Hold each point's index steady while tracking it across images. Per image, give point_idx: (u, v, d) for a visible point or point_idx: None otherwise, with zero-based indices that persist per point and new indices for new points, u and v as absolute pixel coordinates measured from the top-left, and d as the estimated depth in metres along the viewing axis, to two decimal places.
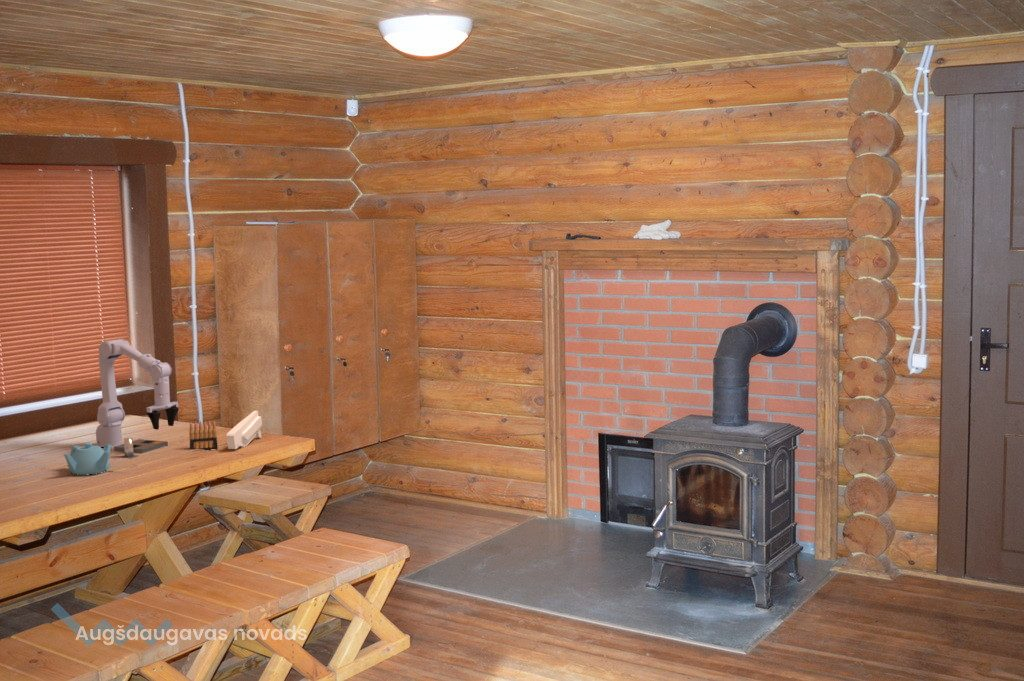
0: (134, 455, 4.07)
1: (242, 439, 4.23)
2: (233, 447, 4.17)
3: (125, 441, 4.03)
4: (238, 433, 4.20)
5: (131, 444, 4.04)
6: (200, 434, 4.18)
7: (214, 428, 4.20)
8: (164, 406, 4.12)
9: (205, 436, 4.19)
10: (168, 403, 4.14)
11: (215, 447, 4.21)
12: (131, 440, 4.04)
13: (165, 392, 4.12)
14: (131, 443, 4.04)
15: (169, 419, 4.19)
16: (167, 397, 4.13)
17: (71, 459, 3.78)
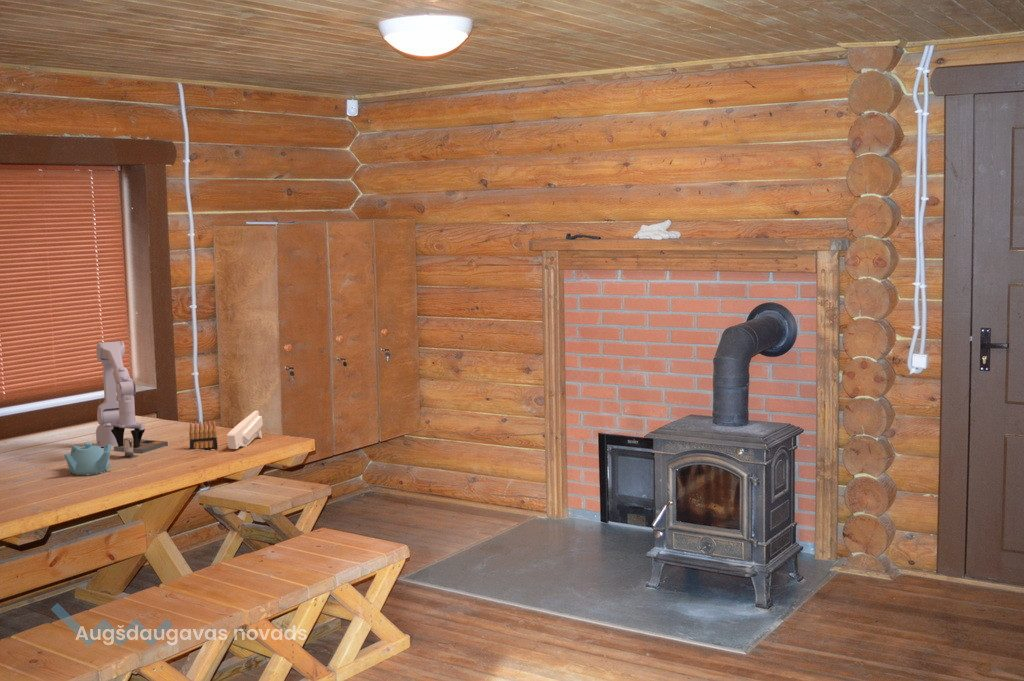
0: (134, 455, 4.07)
1: (243, 439, 4.24)
2: (234, 447, 4.18)
3: (125, 441, 4.03)
4: (239, 433, 4.20)
5: (131, 444, 4.04)
6: (200, 434, 4.18)
7: (214, 428, 4.20)
8: None
9: (205, 436, 4.19)
10: (123, 423, 4.01)
11: (215, 447, 4.21)
12: (131, 440, 4.04)
13: (126, 411, 4.01)
14: (131, 443, 4.04)
15: None
16: (122, 416, 4.01)
17: (71, 459, 3.78)
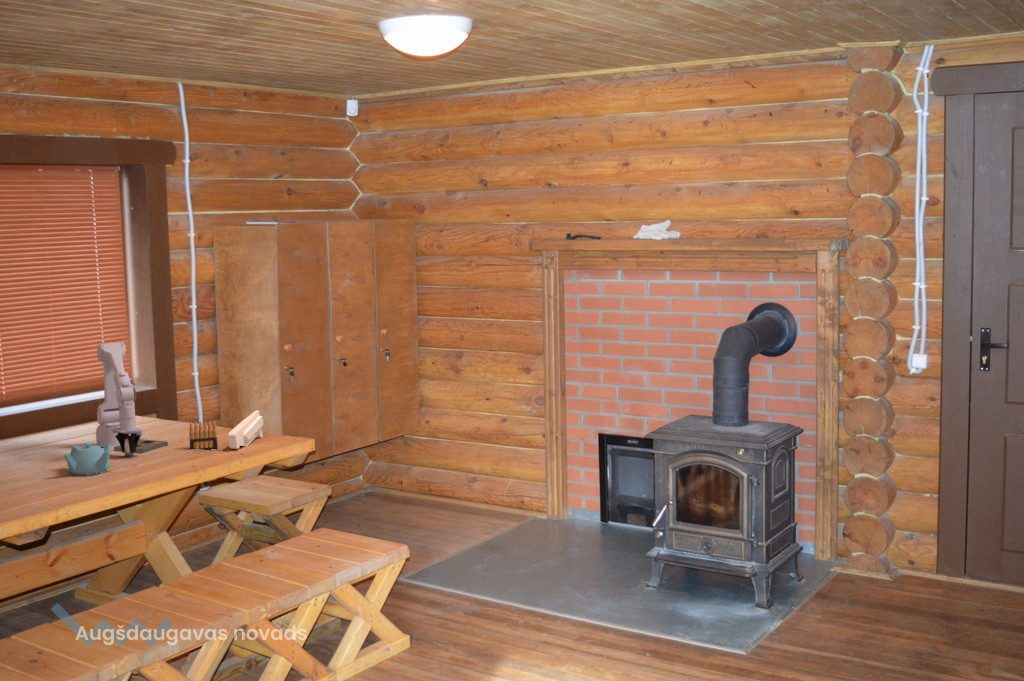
0: (134, 455, 4.07)
1: (244, 439, 4.24)
2: (235, 447, 4.18)
3: (125, 441, 4.03)
4: (240, 432, 4.21)
5: None
6: (200, 434, 4.18)
7: (214, 428, 4.20)
8: (120, 430, 4.02)
9: (205, 436, 4.19)
10: (123, 428, 4.01)
11: (215, 447, 4.21)
12: None
13: (126, 417, 4.01)
14: None
15: None
16: (122, 422, 4.01)
17: (71, 459, 3.78)
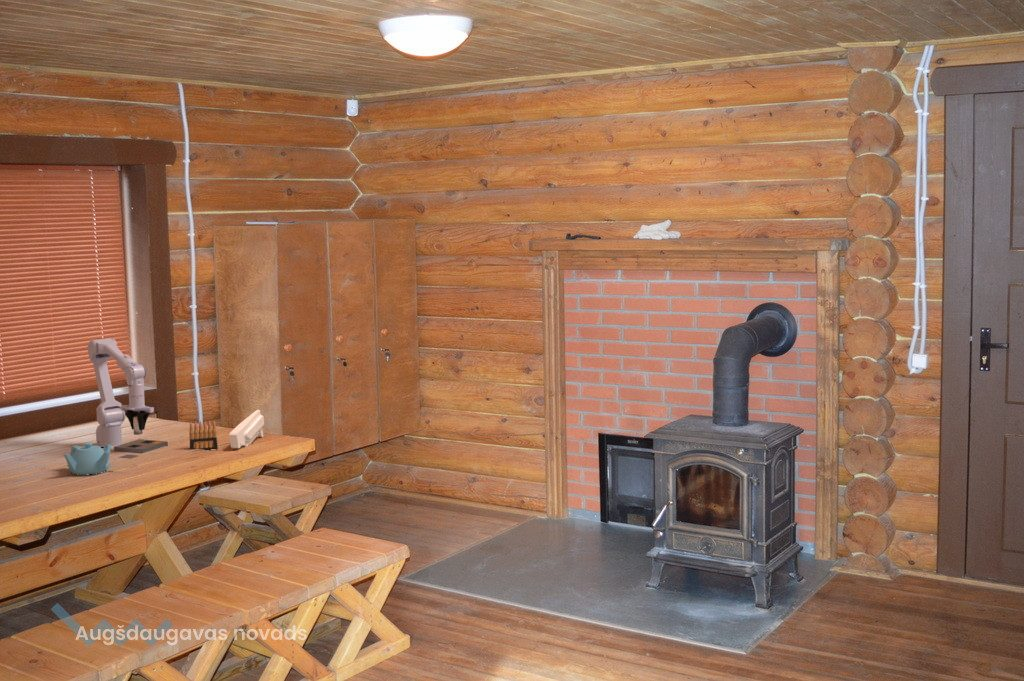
0: (134, 455, 4.07)
1: (245, 438, 4.25)
2: (236, 446, 4.19)
3: (134, 419, 4.12)
4: (241, 432, 4.22)
5: None
6: (200, 434, 4.18)
7: (214, 428, 4.20)
8: None
9: (205, 436, 4.19)
10: (133, 406, 4.11)
11: (215, 447, 4.21)
12: None
13: (138, 394, 4.10)
14: None
15: None
16: (132, 400, 4.10)
17: (71, 459, 3.78)
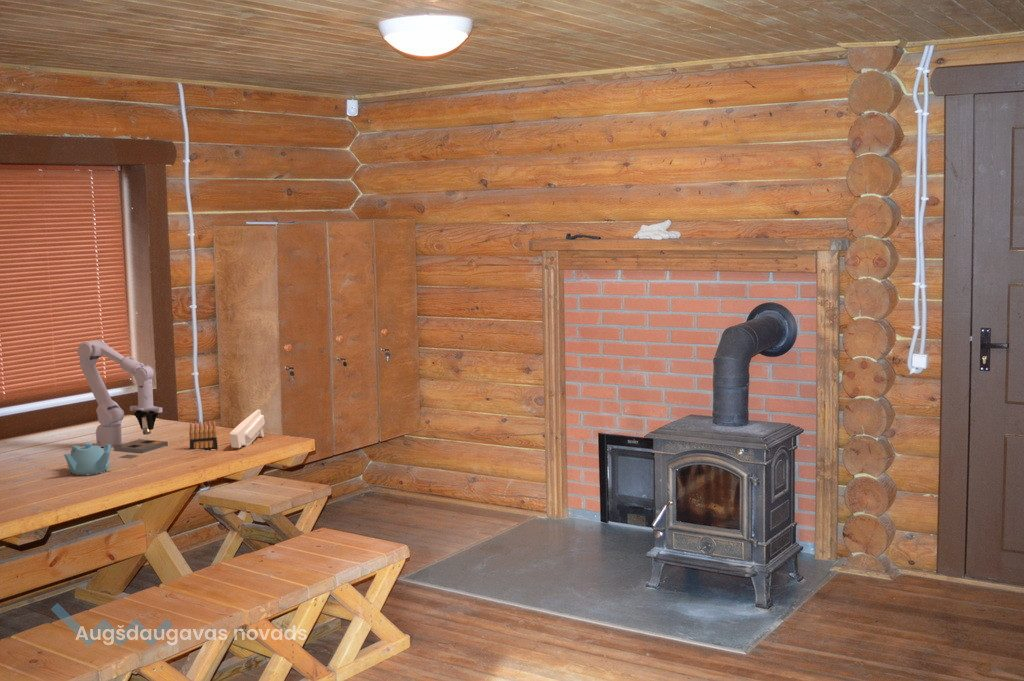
0: (134, 455, 4.07)
1: (245, 438, 4.25)
2: (237, 446, 4.20)
3: (143, 419, 4.21)
4: (242, 431, 4.22)
5: None
6: (200, 434, 4.18)
7: (214, 428, 4.20)
8: (138, 408, 4.21)
9: (205, 436, 4.19)
10: (142, 406, 4.20)
11: (215, 447, 4.21)
12: None
13: (149, 394, 4.20)
14: None
15: None
16: (141, 400, 4.19)
17: (71, 459, 3.78)
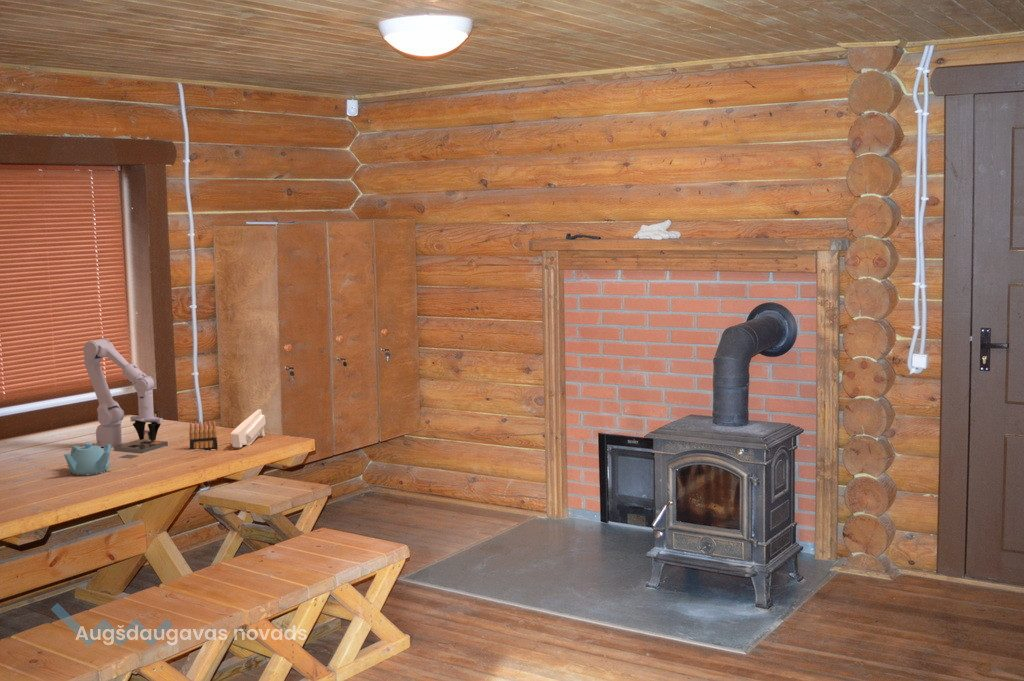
0: (134, 455, 4.07)
1: (246, 438, 4.26)
2: (238, 445, 4.20)
3: (145, 433, 4.23)
4: (243, 431, 4.23)
5: None
6: (200, 434, 4.18)
7: (214, 428, 4.20)
8: None
9: (205, 436, 4.19)
10: (142, 417, 4.20)
11: (215, 447, 4.21)
12: None
13: (150, 405, 4.21)
14: None
15: None
16: (141, 411, 4.20)
17: (71, 459, 3.78)
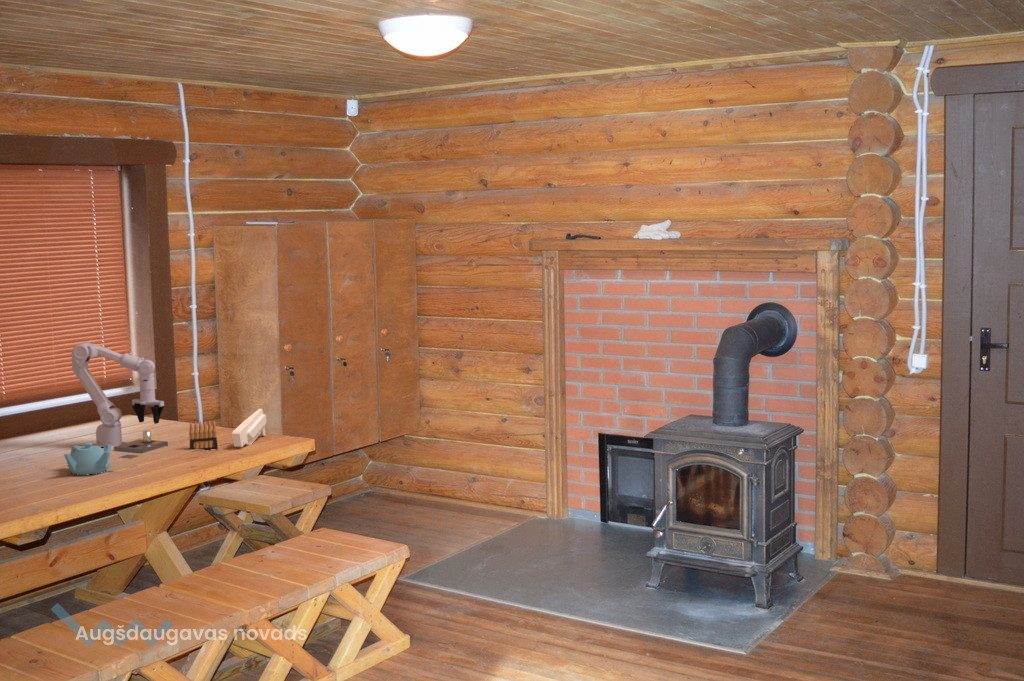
0: (134, 455, 4.07)
1: (247, 437, 4.27)
2: (239, 445, 4.21)
3: (144, 433, 4.22)
4: (244, 431, 4.24)
5: (150, 436, 4.23)
6: (200, 434, 4.18)
7: (214, 428, 4.20)
8: None
9: (205, 436, 4.19)
10: (144, 400, 4.25)
11: (215, 447, 4.21)
12: (149, 432, 4.23)
13: (153, 388, 4.26)
14: (150, 435, 4.23)
15: None
16: (142, 394, 4.25)
17: (71, 459, 3.78)
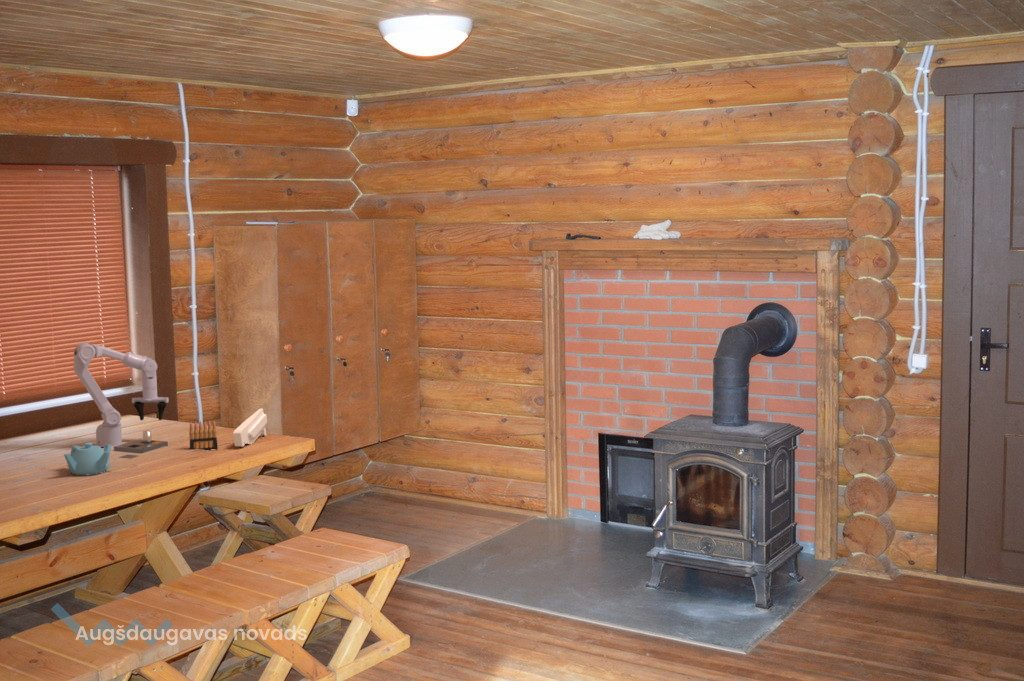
0: (134, 455, 4.07)
1: (248, 437, 4.28)
2: (240, 444, 4.22)
3: (144, 433, 4.22)
4: (245, 430, 4.25)
5: (150, 436, 4.23)
6: (200, 434, 4.18)
7: (214, 428, 4.20)
8: (144, 399, 4.31)
9: (205, 436, 4.19)
10: (149, 397, 4.31)
11: (215, 447, 4.21)
12: (150, 432, 4.23)
13: (156, 385, 4.33)
14: (150, 435, 4.23)
15: None
16: (147, 391, 4.30)
17: (71, 459, 3.78)
